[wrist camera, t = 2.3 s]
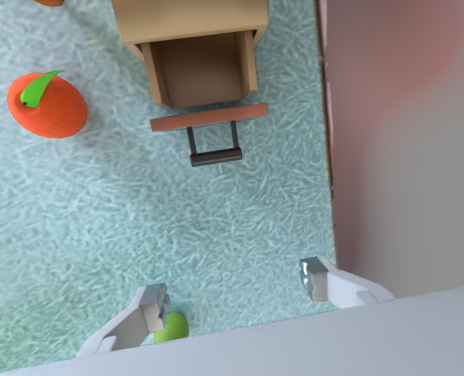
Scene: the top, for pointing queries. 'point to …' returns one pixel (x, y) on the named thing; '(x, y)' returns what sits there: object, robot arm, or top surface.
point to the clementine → (47, 105)
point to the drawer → (204, 85)
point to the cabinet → (186, 20)
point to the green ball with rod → (173, 328)
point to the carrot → (50, 2)
